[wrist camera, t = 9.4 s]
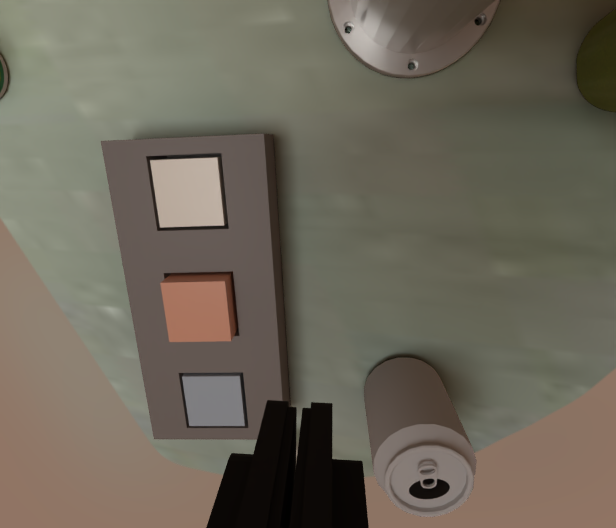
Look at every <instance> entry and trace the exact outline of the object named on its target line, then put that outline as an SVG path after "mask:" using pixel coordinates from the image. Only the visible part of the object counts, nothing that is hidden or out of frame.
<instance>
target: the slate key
mask: <svg viewBox="0 0 616 528" xmlns="http://www.w3.org/2000/svg"><path fill="white" fill-rule="evenodd" d="M182 380H183V387H184V393H185V400H186V407H187V414H188V420H189V426H245V423H246V420H247V407H246V397H245V387H244V377H243V372H233V373H184V374H183V376H182Z"/></svg>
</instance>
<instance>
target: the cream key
mask: <svg viewBox="0 0 616 528" xmlns="http://www.w3.org/2000/svg"><path fill="white" fill-rule="evenodd" d="M150 163H151V170H152V177H153V184H154V190H155V197H156V204H157V211H158V217H159V224H160V227H191V226H222V225H225V224H227V223H228V216H227V206H226V196H225V186H224V176H223V166H222V156H209V157H185V158H167V159H158V160H150Z"/></svg>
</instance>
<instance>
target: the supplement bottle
mask: <svg viewBox="0 0 616 528" xmlns="http://www.w3.org/2000/svg"><path fill="white" fill-rule="evenodd" d="M7 84H8V72H7V68H6V64H5V62H4V60H3V58H2V56H1V55H0V98H1V97H2V96H3V94H4V93H5V91H6V88H7Z"/></svg>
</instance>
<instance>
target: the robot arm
mask: <svg viewBox="0 0 616 528" xmlns="http://www.w3.org/2000/svg"><path fill="white" fill-rule="evenodd" d="M327 1H328V6H329V11H330V17H331V20H332V22H333V25H334V27H335V30H336V32H337V34H338V36H339V38H340V39H341V41H342V43H343V44H344V46H345V47H346V49H347V50H348V51H349V52H350V53H351V54H352V55H353V56H354V57H355V58H356V59H357V60H358V61H359V62H361V63H362V64H364V65H365V66H366V67H368V68H369V69H371V70H374V71H376V72H378V73H380V74H383V75H387V76H392V77H396V78H416V77H421V76H426V75H430V74H432V73H435V72H437V71H440V70H442V69H444V68H446V67H448V66H449V65H451V64H453V63H454V62H456V61H457V60H458V59H460V58H461V57H462V56H463V55H465V54H466V53H467V52H469V51H470V49H471V48H472V47H473V46H474V45H475V44H476V43H477V42H478V41H479V39H480V38H481V37H482V36H483V34H484V33H485V31H486V30H487V28H488V27H489V25H490V23H491V22H492V19H493V17H494V15H495V12H496V10H497V8H498V5H499V3H500V0H327ZM475 19H478V20H479V22H480V23H479V25H478V26H477V25H476V24H475V22H474V20H475ZM347 27H349V28H351V32H350V33H349V34H347V33H346V32H345V28H347ZM410 63H411V64H413V66H414V68H413V70H409V69H408V64H410ZM206 528H368V518H367V506H366V495H365V484H364V473H363V464H362V461H353V460H337V459H332V403H314V402H311V408H303V410H302V419H301V428H300V437H299V446H298V455H297V464H296V407H289V402H288V401H276V400H267V403H266V406H265V410H264V414H263V418H262V422H261V426H260V430H259V434H258V438H257V442H256V446H255V450H254V454H236V453H232V454H231V455H230V457H229V460H228V463H227V466H226V469H225V472H224V475H223V478H222V481H221V484H220V487H219V490H218V494H217V497H216V500H215V503H214V506H213V509H212V512H211V515H210V518H209V521H208V524H207V527H206Z"/></svg>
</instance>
